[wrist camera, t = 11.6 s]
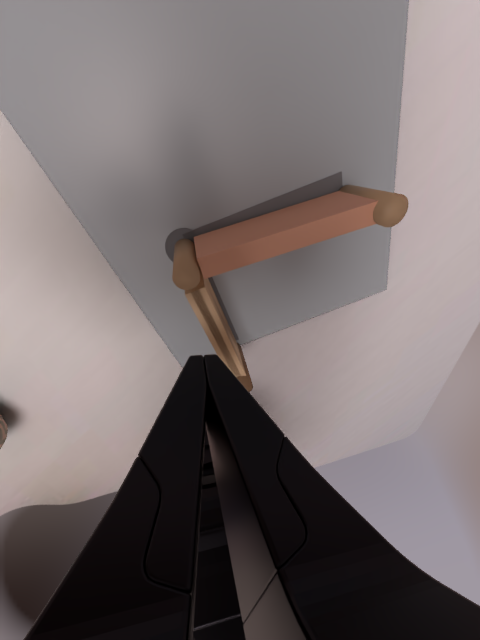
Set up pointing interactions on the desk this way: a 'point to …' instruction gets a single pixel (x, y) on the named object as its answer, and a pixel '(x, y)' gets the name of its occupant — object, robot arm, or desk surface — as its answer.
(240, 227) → the fence panel
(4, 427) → the stuffed animal
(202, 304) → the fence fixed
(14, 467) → the desk surface
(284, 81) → the card
